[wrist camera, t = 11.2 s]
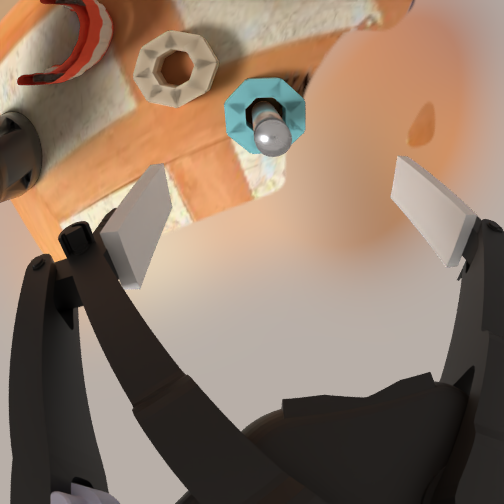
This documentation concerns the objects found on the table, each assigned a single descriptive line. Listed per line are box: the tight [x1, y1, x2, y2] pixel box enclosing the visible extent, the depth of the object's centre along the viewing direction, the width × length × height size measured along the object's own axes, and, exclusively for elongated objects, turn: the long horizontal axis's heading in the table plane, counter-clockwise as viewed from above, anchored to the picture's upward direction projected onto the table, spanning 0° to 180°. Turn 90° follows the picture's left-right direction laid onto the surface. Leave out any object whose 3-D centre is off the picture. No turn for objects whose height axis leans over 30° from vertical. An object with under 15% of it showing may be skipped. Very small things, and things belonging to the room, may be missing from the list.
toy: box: [17, 0, 114, 85], centre depth 21 cm, size 12×10×8 cm
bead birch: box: [133, 30, 219, 108], centre depth 27 cm, size 9×9×4 cm
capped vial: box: [252, 101, 292, 157], centre depth 27 cm, size 3×3×14 cm
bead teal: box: [224, 77, 305, 154], centre depth 31 cm, size 9×9×4 cm
